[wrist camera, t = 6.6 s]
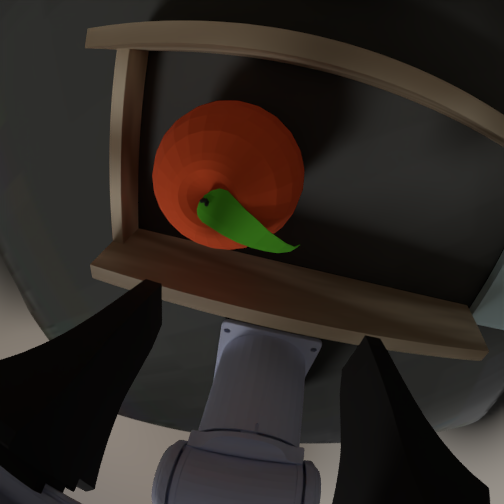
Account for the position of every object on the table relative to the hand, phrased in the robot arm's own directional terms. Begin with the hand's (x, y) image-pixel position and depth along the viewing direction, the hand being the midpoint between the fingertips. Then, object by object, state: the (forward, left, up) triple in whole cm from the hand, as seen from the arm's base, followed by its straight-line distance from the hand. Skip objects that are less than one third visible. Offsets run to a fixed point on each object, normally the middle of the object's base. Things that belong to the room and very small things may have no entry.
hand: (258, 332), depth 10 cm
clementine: (+3, +2, -10) cm, 10 cm away
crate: (+3, -3, -9) cm, 10 cm away
